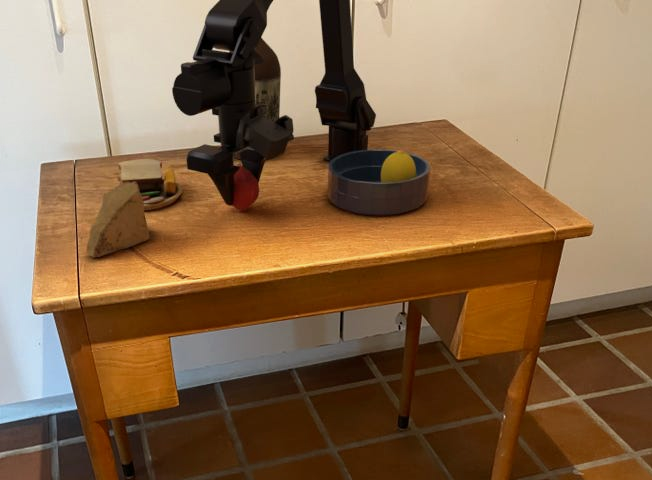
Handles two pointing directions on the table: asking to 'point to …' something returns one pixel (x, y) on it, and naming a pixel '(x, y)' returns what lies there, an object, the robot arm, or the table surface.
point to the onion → (244, 188)
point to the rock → (118, 221)
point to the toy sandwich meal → (150, 182)
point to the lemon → (398, 168)
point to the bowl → (375, 184)
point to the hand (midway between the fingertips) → (241, 199)
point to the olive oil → (267, 82)
